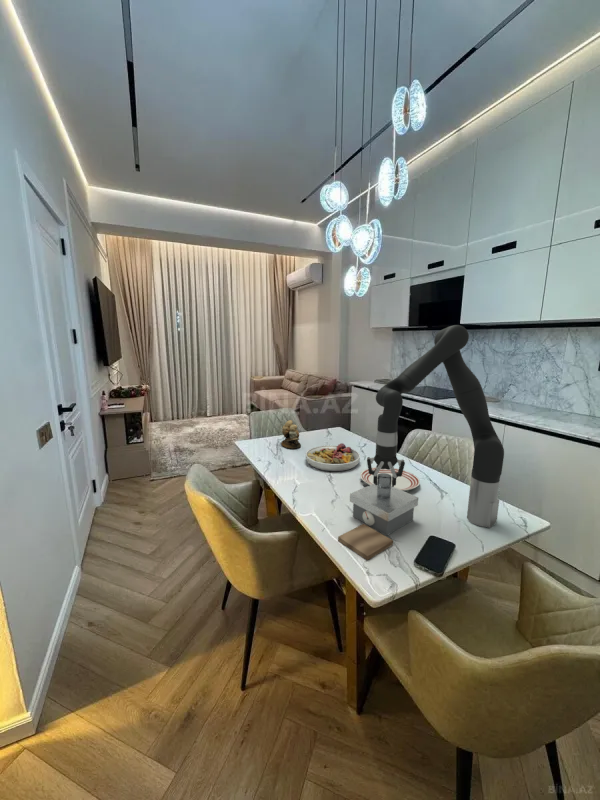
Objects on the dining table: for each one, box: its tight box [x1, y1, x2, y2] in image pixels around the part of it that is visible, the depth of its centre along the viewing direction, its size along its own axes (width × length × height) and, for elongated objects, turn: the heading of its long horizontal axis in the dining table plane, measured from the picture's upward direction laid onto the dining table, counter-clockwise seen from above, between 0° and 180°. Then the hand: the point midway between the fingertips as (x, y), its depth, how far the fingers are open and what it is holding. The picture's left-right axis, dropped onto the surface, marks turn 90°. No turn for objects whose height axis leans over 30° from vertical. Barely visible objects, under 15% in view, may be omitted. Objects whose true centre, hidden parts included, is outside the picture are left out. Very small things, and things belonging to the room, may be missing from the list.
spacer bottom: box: [377, 486, 391, 499], centre depth 125 cm, size 5×5×4 cm
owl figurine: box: [280, 419, 302, 450], centre depth 210 cm, size 18×12×17 cm, turn 27°
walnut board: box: [337, 523, 394, 561], centre depth 112 cm, size 13×13×2 cm
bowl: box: [305, 442, 361, 472], centre depth 183 cm, size 30×30×8 cm
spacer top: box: [377, 473, 392, 489], centre depth 124 cm, size 5×5×4 cm
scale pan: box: [349, 482, 419, 521], centre depth 126 cm, size 18×18×3 cm
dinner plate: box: [359, 466, 420, 492], centre depth 158 cm, size 27×27×3 cm
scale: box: [352, 503, 415, 536], centre depth 126 cm, size 16×17×8 cm
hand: (384, 485), depth 125 cm, fingers open, 5 cm apart
